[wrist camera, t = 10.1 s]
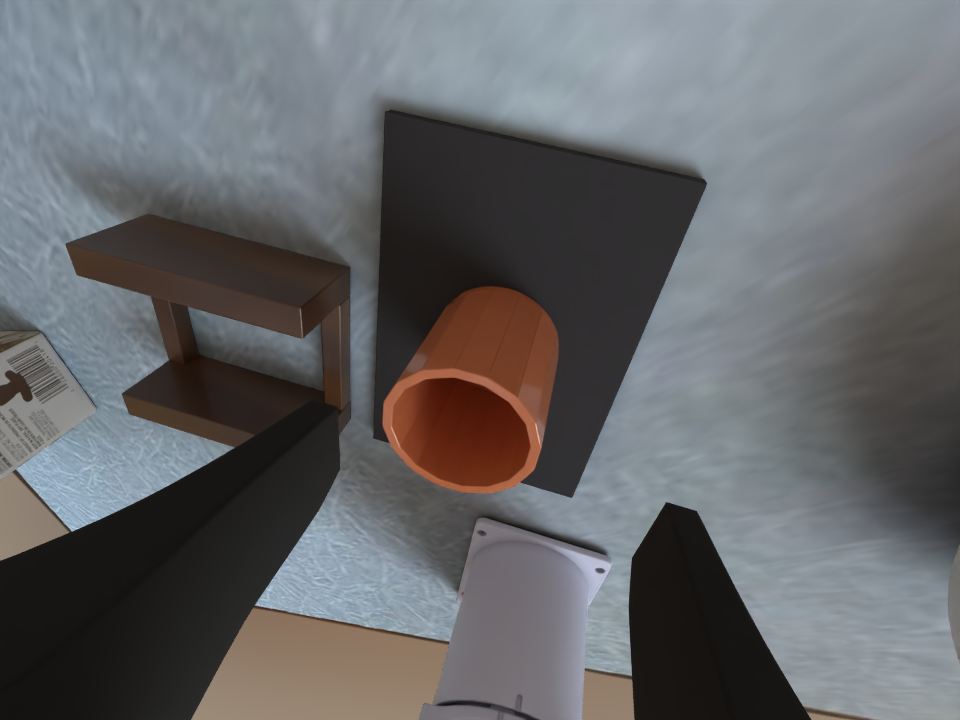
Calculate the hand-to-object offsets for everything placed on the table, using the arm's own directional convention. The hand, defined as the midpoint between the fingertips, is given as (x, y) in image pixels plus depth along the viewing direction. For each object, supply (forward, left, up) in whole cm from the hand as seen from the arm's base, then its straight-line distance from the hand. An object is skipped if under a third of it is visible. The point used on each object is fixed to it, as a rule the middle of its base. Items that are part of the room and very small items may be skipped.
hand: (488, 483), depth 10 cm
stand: (-6, +13, -11) cm, 18 cm away
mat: (-3, +1, -11) cm, 11 cm away
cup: (-3, +1, -10) cm, 11 cm away
